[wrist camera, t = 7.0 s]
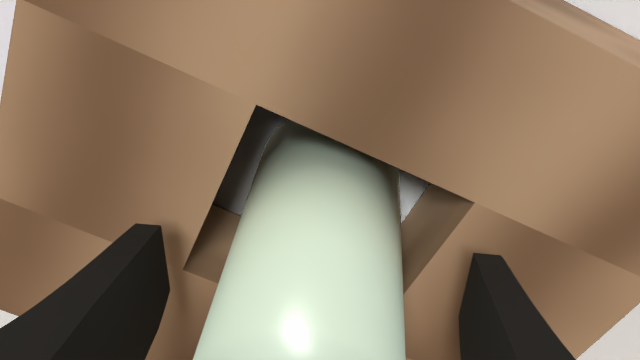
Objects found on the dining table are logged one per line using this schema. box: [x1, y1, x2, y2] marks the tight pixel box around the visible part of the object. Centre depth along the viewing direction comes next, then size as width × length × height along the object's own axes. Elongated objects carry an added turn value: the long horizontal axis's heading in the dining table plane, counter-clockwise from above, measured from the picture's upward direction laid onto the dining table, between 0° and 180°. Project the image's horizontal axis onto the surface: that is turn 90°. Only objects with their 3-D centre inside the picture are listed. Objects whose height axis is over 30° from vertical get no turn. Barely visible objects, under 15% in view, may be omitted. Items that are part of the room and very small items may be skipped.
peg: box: [193, 119, 406, 360], centre depth 14 cm, size 4×4×8 cm
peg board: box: [0, 0, 640, 360], centre depth 16 cm, size 16×14×3 cm
